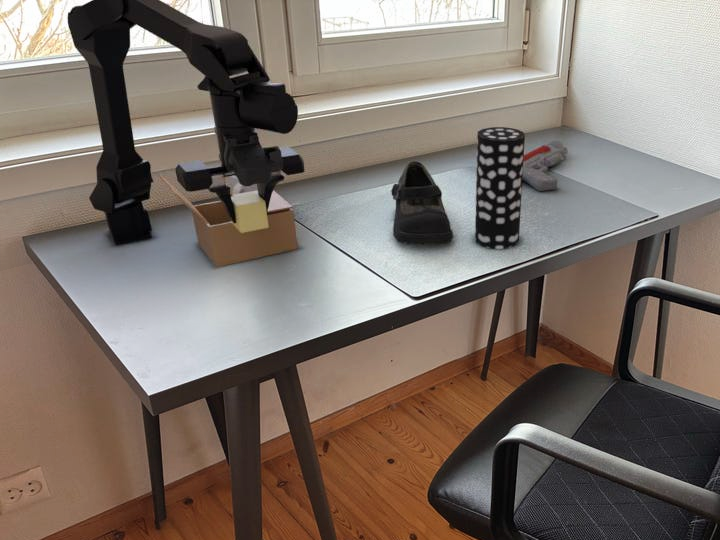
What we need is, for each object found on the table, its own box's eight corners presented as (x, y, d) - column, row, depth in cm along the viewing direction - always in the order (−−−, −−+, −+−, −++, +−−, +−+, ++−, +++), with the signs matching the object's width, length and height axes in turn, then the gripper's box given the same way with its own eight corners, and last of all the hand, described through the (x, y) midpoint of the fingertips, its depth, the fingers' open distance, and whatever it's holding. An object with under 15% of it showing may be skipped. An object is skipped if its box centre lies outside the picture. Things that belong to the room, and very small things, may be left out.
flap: (208, 222, 122) (207, 224, 122) (190, 202, 129) (189, 203, 129) (175, 193, 117) (174, 194, 117) (158, 173, 124) (157, 174, 124)
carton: (216, 267, 126) (208, 223, 122) (198, 244, 134) (190, 202, 129) (298, 248, 133) (293, 206, 129) (276, 228, 141) (271, 187, 136)
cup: (258, 224, 142) (252, 184, 138) (220, 220, 143) (213, 180, 139) (281, 204, 151) (276, 166, 147) (245, 201, 152) (239, 163, 148)
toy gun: (600, 151, 177) (546, 137, 183) (549, 182, 158) (489, 165, 164) (598, 165, 179) (544, 151, 185) (547, 197, 160) (488, 180, 166)
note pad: (241, 233, 118) (236, 206, 115) (232, 223, 121) (227, 196, 118) (268, 227, 120) (265, 200, 117) (259, 218, 123) (255, 191, 121)
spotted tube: (473, 231, 142) (475, 127, 131) (515, 230, 143) (521, 127, 132) (476, 249, 135) (479, 141, 124) (521, 248, 136) (528, 140, 125)
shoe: (397, 256, 132) (395, 203, 126) (385, 207, 151) (383, 159, 146) (457, 252, 134) (458, 200, 128) (438, 204, 153) (438, 157, 148)
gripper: (186, 146, 101) (206, 249, 110) (313, 128, 110) (322, 225, 119) (165, 126, 109) (185, 224, 118) (285, 110, 118) (296, 203, 126)
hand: (249, 219), depth 120 cm, fingers closed on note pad, 4 cm apart
